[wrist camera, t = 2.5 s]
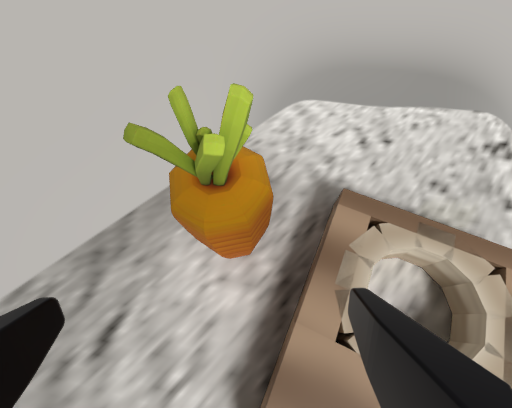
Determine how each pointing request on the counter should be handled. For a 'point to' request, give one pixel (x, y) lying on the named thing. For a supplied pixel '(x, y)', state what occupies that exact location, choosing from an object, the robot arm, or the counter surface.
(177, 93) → the carrot
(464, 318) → the hole board
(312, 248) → the counter surface
